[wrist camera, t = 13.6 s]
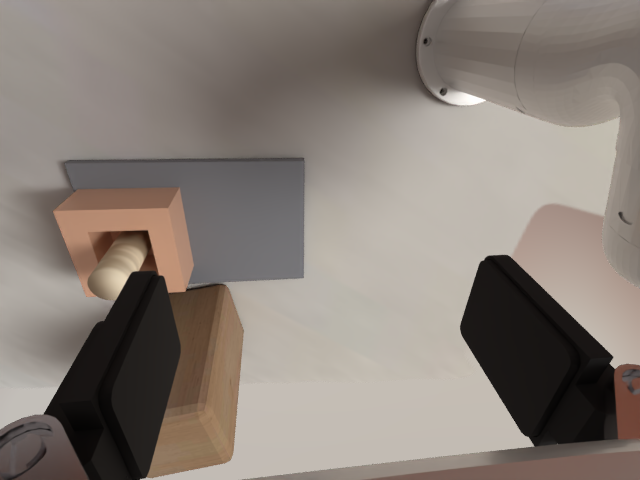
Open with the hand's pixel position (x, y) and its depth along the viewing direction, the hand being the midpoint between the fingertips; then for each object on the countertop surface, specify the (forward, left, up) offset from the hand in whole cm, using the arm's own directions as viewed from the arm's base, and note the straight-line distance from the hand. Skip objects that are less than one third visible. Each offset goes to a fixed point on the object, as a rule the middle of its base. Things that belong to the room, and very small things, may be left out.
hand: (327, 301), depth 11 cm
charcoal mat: (+11, +15, -33) cm, 38 cm away
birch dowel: (+18, +15, -31) cm, 39 cm away
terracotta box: (+18, +15, -32) cm, 40 cm away
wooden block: (+13, +30, -34) cm, 47 cm away
